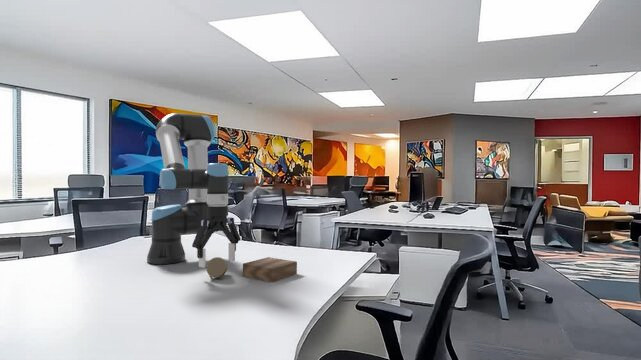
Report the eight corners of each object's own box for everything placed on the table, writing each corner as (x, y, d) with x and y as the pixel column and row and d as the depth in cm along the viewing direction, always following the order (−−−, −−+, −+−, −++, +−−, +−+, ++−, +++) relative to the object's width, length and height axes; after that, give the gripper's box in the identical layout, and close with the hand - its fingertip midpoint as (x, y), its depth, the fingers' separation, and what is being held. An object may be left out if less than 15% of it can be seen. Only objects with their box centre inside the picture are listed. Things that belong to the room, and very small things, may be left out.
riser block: (242, 277, 142) (242, 263, 142) (268, 269, 154) (268, 257, 153) (272, 283, 134) (272, 268, 134) (296, 275, 146) (296, 261, 146)
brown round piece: (232, 270, 147) (234, 251, 141) (222, 289, 139) (223, 269, 133) (213, 265, 147) (214, 245, 142) (202, 284, 139) (202, 264, 134)
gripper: (195, 207, 130) (195, 271, 130) (249, 204, 150) (249, 259, 150) (181, 207, 134) (181, 268, 134) (236, 203, 155) (236, 257, 155)
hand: (217, 263), depth 142 cm, fingers open, 13 cm apart
